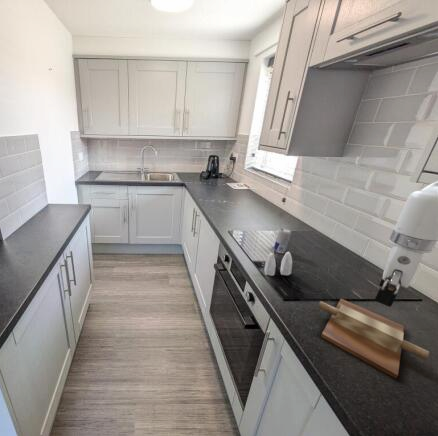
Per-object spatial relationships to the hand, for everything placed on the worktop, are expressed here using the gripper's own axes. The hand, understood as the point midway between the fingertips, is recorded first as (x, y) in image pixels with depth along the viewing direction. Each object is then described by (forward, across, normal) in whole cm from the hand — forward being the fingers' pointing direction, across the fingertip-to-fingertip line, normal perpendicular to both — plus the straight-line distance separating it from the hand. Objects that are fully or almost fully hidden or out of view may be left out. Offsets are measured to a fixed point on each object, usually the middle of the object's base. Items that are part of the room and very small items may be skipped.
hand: (384, 295), depth 64 cm
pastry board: (+16, +1, +1) cm, 16 cm away
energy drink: (+16, +35, +38) cm, 54 cm away
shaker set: (+16, +13, +30) cm, 36 cm away
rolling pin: (+14, -1, 0) cm, 14 cm away
